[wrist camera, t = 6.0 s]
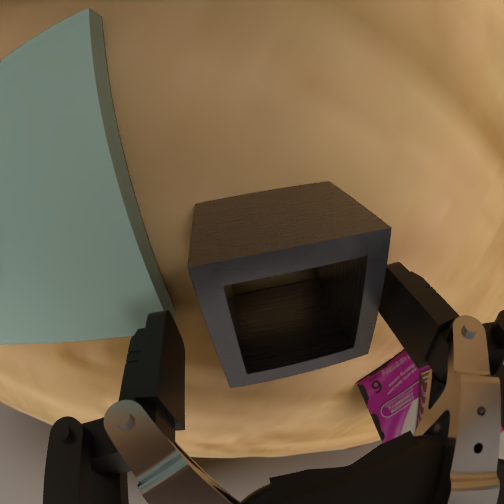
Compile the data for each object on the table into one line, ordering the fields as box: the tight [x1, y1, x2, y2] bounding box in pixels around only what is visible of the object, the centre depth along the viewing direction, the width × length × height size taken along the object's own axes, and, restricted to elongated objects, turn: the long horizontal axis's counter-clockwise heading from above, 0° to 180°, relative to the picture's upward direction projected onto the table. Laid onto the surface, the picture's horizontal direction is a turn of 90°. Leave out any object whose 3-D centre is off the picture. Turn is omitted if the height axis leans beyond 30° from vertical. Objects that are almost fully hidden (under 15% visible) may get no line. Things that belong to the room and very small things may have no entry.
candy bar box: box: [357, 350, 504, 460], centre depth 14 cm, size 11×5×16 cm, turn 130°
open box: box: [188, 182, 391, 388], centre depth 11 cm, size 6×6×5 cm
